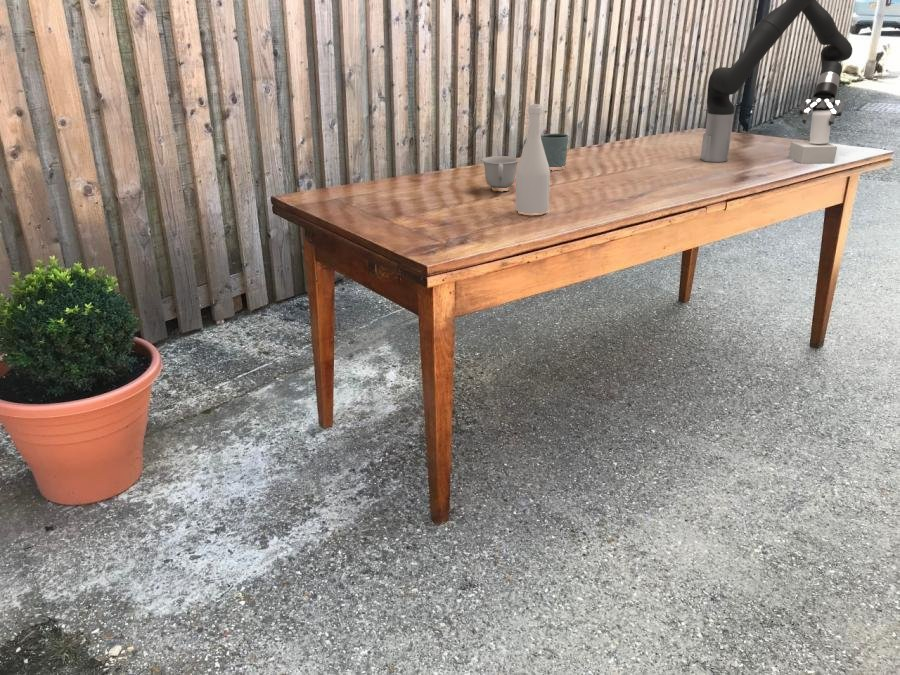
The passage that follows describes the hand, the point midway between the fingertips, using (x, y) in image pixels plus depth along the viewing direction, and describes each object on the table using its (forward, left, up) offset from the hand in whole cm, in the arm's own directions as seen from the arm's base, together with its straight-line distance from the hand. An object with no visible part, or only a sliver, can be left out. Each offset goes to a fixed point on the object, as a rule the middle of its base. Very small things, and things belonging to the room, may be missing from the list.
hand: (817, 123), depth 265 cm
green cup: (-97, -8, -14) cm, 99 cm away
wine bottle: (-110, -72, -14) cm, 132 cm away
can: (+2, +1, -8) cm, 8 cm away
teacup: (-118, -44, -14) cm, 127 cm away
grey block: (+1, +1, -14) cm, 14 cm away
